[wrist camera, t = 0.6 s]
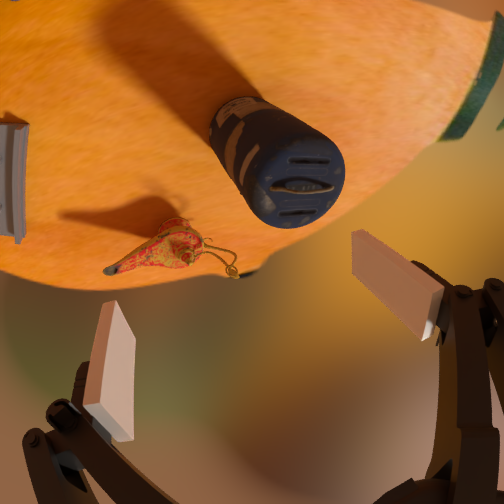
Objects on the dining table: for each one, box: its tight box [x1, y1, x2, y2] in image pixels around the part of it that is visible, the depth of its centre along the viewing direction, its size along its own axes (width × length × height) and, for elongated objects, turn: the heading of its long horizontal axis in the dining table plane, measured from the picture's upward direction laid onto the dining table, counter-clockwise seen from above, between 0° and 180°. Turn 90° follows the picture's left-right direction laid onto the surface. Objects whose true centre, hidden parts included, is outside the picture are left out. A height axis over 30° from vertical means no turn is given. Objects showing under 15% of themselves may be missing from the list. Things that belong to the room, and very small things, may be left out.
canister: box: [209, 96, 345, 229], centre depth 31 cm, size 10×10×18 cm
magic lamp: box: [103, 218, 240, 279], centre depth 39 cm, size 7×18×11 cm, turn 82°
